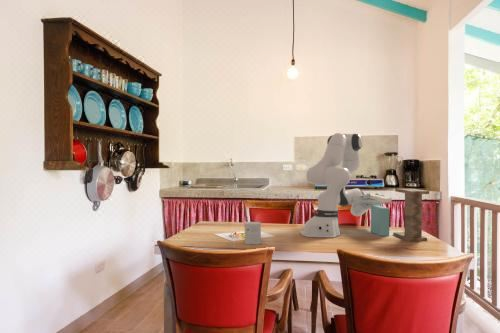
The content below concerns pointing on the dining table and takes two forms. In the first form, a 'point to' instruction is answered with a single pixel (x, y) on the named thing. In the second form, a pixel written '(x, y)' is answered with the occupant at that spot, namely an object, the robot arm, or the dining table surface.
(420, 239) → the walnut stand
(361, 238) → the dining table surface
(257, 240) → the small box
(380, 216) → the teal block
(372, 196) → the domino tile
